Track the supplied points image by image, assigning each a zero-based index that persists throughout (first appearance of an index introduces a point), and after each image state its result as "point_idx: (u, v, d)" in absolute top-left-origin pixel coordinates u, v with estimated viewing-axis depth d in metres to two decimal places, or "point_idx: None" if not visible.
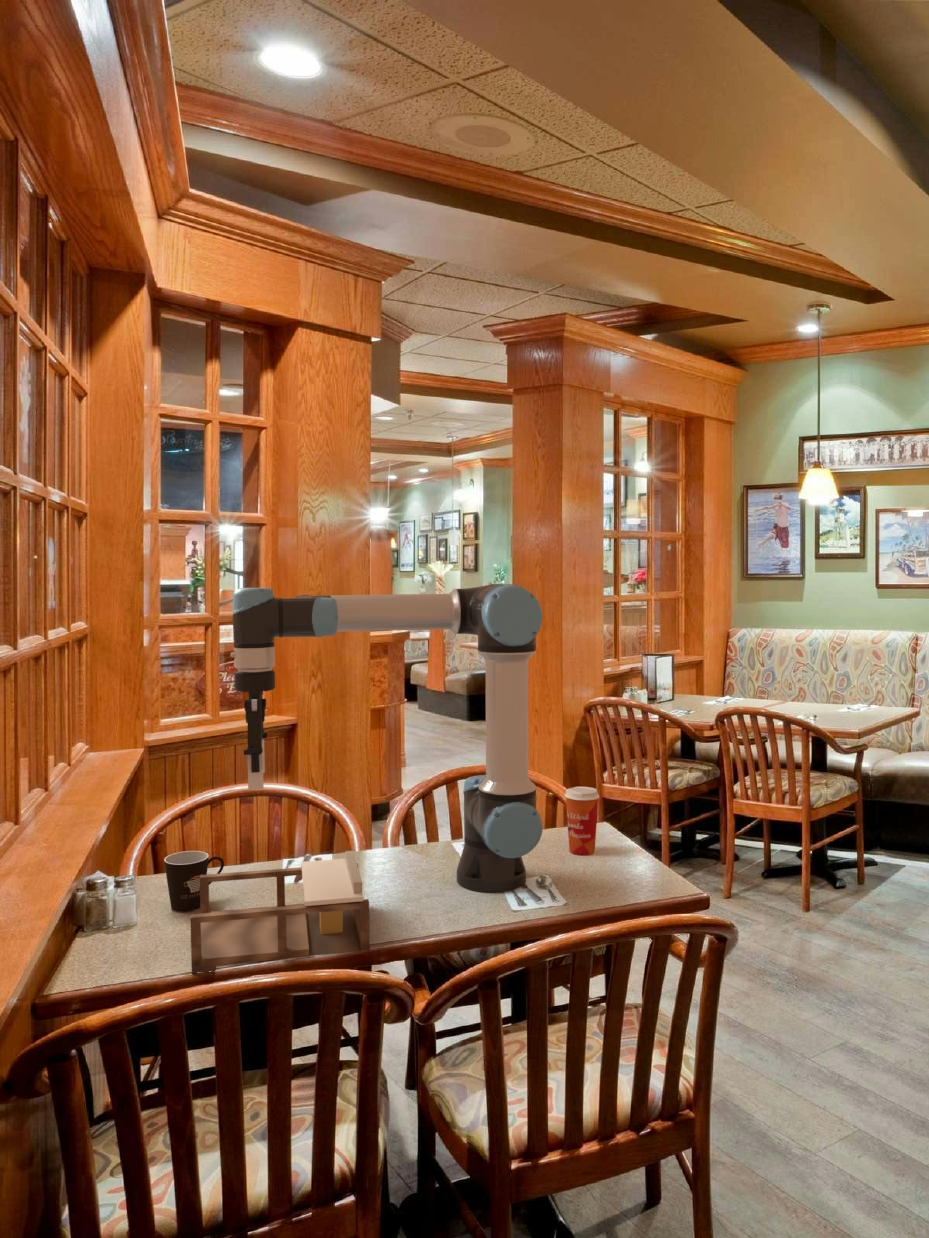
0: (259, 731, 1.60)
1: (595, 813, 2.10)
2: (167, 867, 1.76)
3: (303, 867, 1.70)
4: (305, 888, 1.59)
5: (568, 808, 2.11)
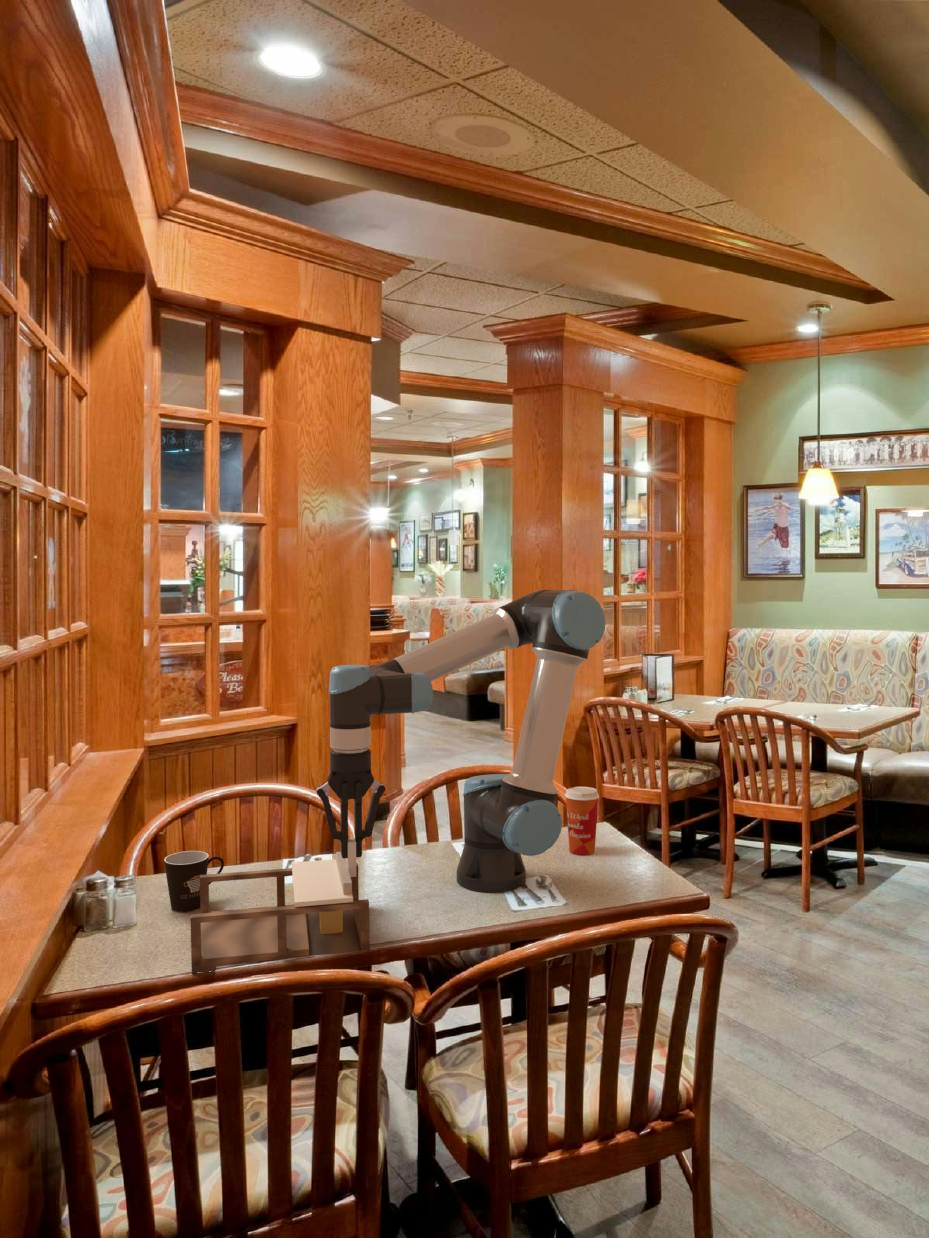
0: None
1: (595, 813, 2.10)
2: (167, 867, 1.76)
3: (293, 868, 1.70)
4: (295, 889, 1.59)
5: (568, 808, 2.11)
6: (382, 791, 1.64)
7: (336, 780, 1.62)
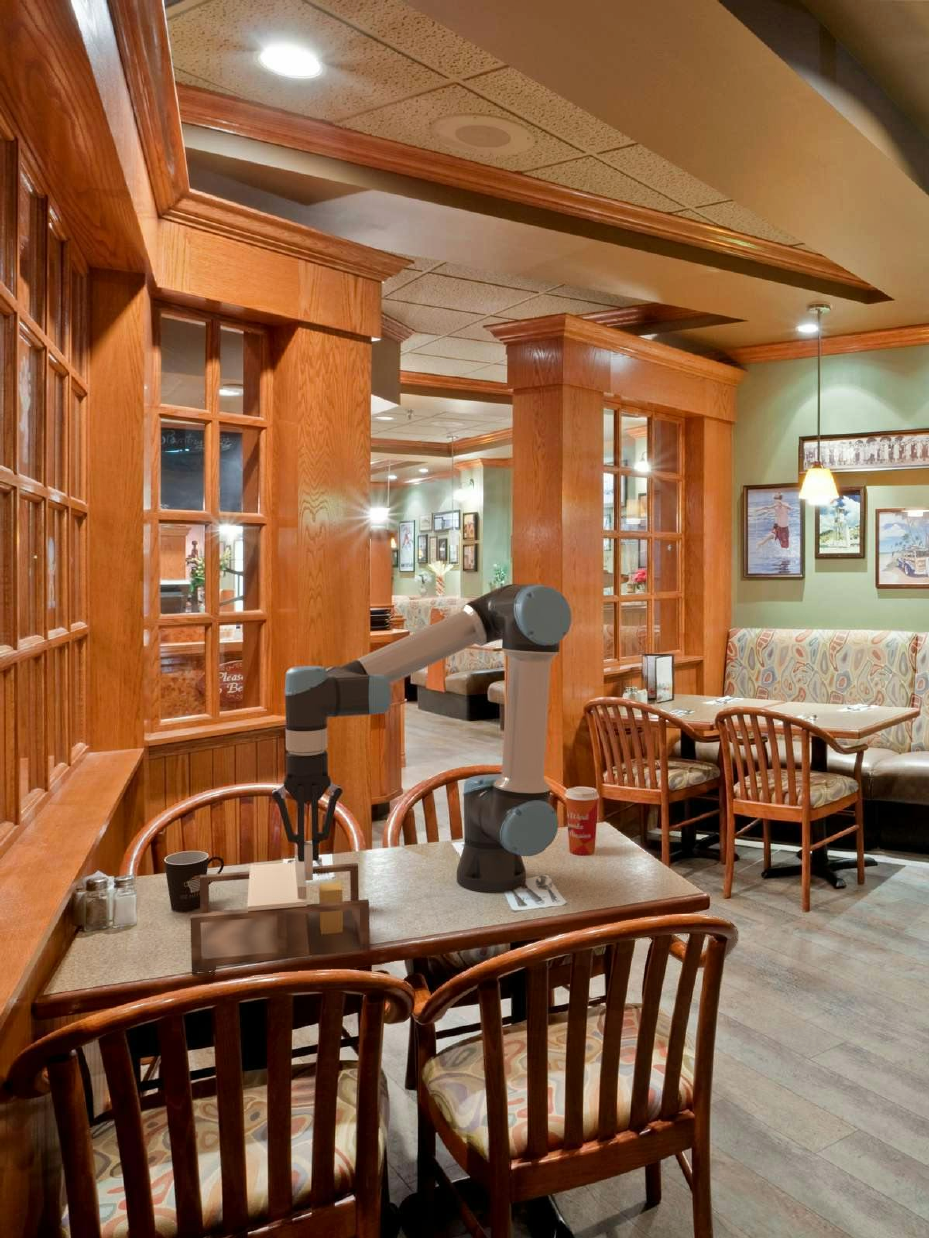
0: (283, 823, 1.61)
1: (595, 813, 2.10)
2: (167, 867, 1.76)
3: (251, 871, 1.68)
4: (249, 893, 1.57)
5: (568, 808, 2.11)
6: (339, 794, 1.62)
7: (292, 783, 1.61)
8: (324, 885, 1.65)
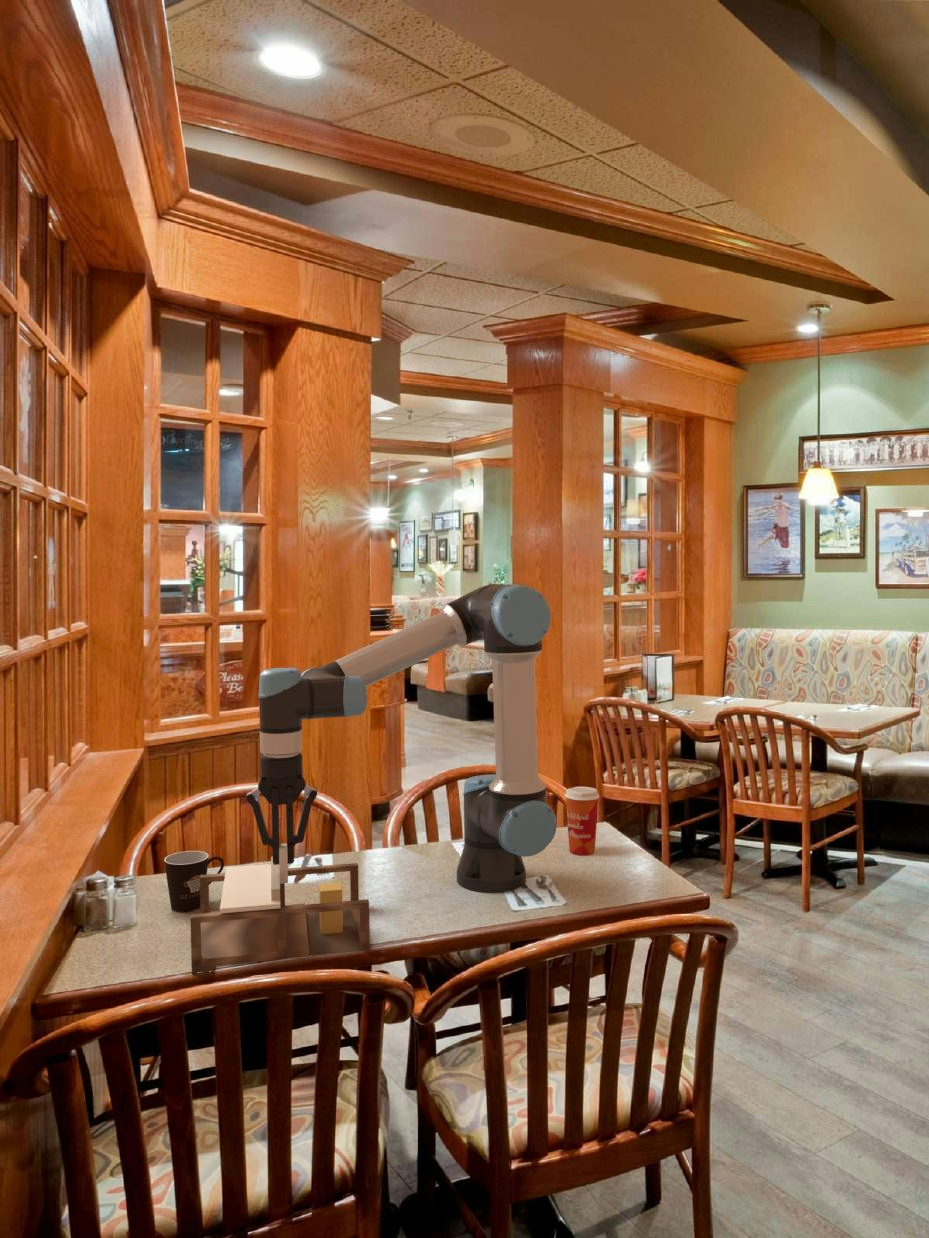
0: None
1: (595, 813, 2.10)
2: (167, 867, 1.76)
3: (227, 873, 1.67)
4: (223, 895, 1.56)
5: (568, 808, 2.11)
6: (314, 796, 1.62)
7: (266, 785, 1.60)
8: (324, 885, 1.65)
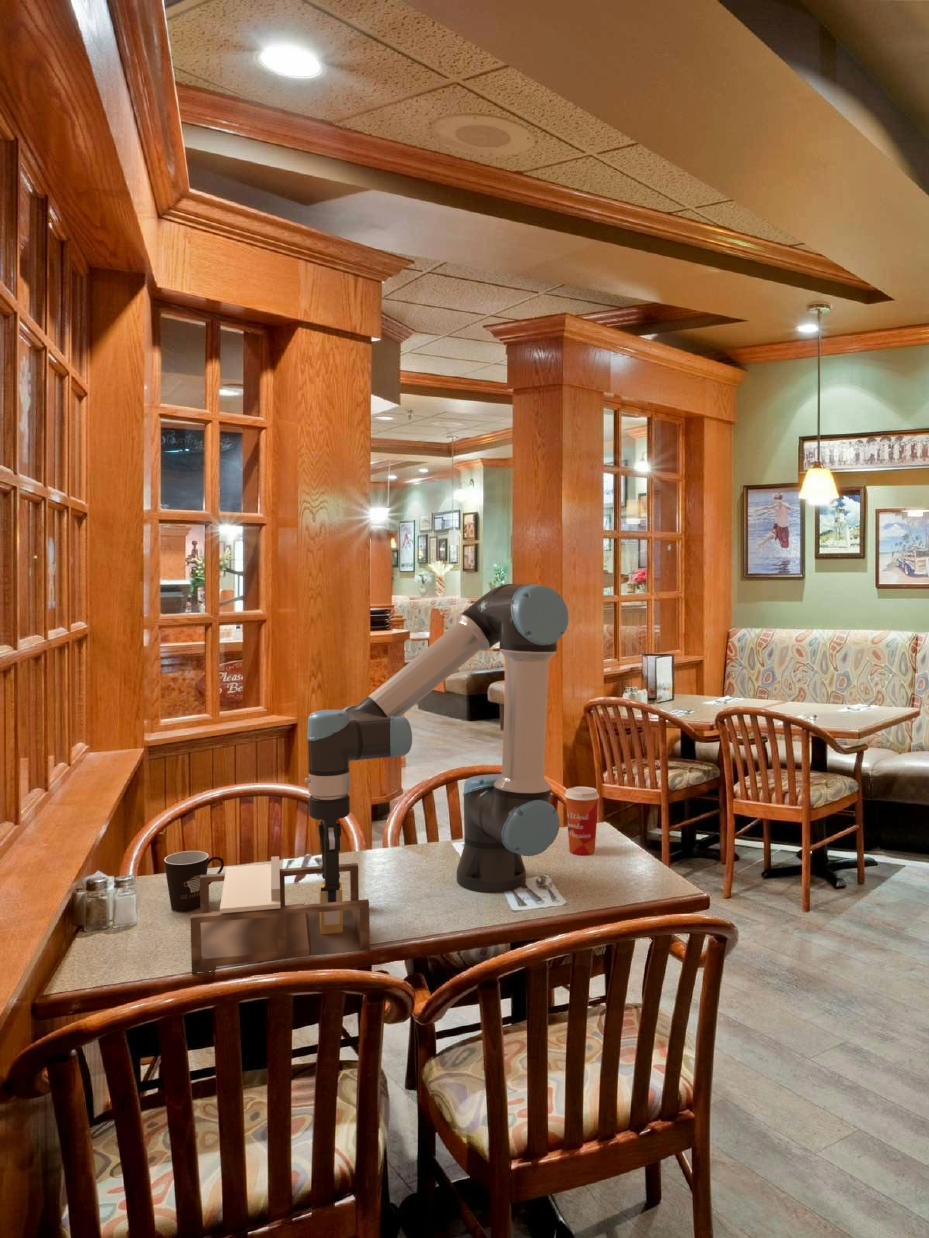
0: (337, 870, 1.59)
1: (595, 813, 2.10)
2: (167, 867, 1.76)
3: (227, 873, 1.67)
4: (223, 895, 1.56)
5: (568, 808, 2.11)
6: None
7: None
8: (324, 885, 1.65)
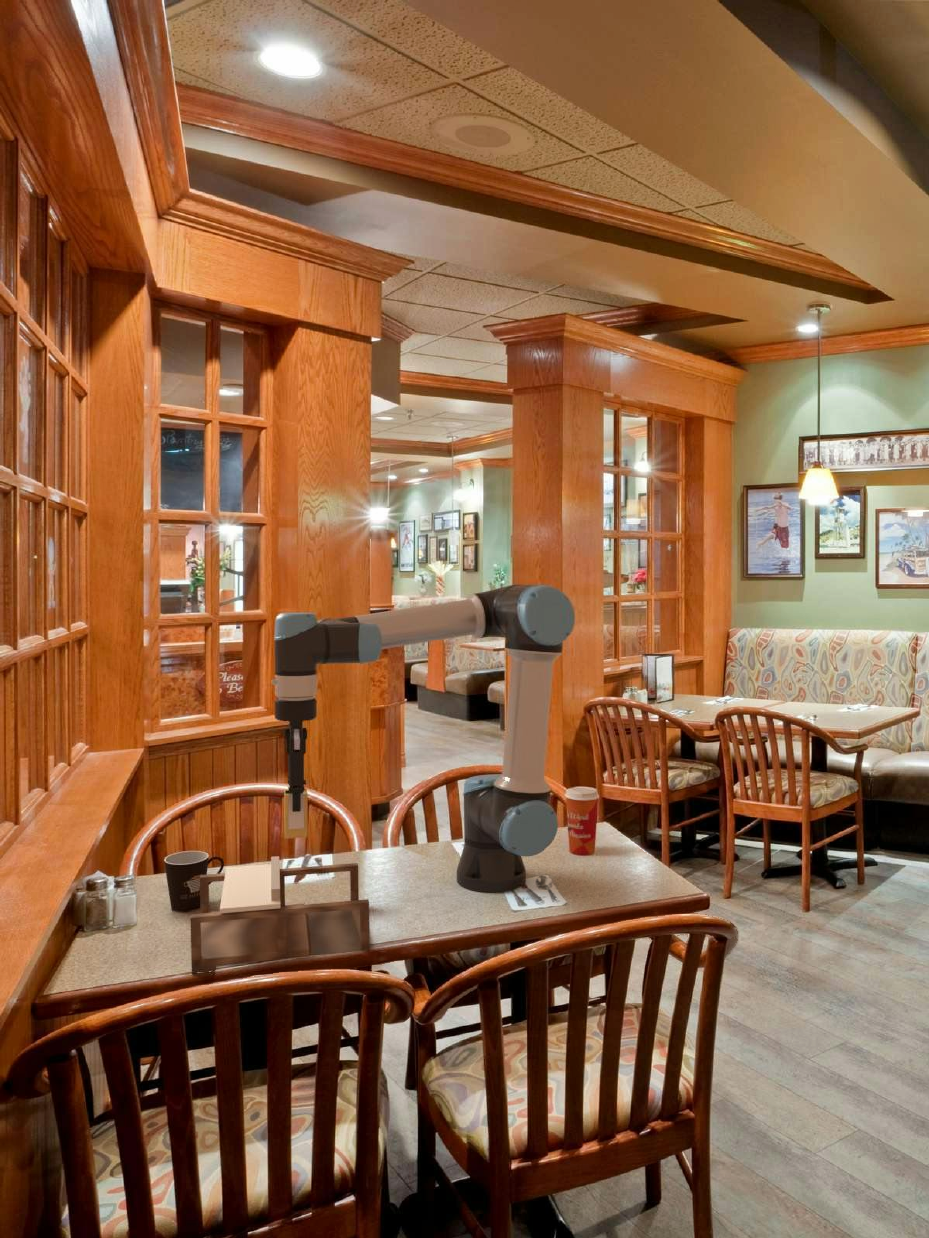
0: (301, 772, 1.56)
1: (595, 813, 2.10)
2: (167, 867, 1.76)
3: (227, 873, 1.67)
4: (223, 895, 1.56)
5: (568, 808, 2.11)
6: None
7: None
8: None
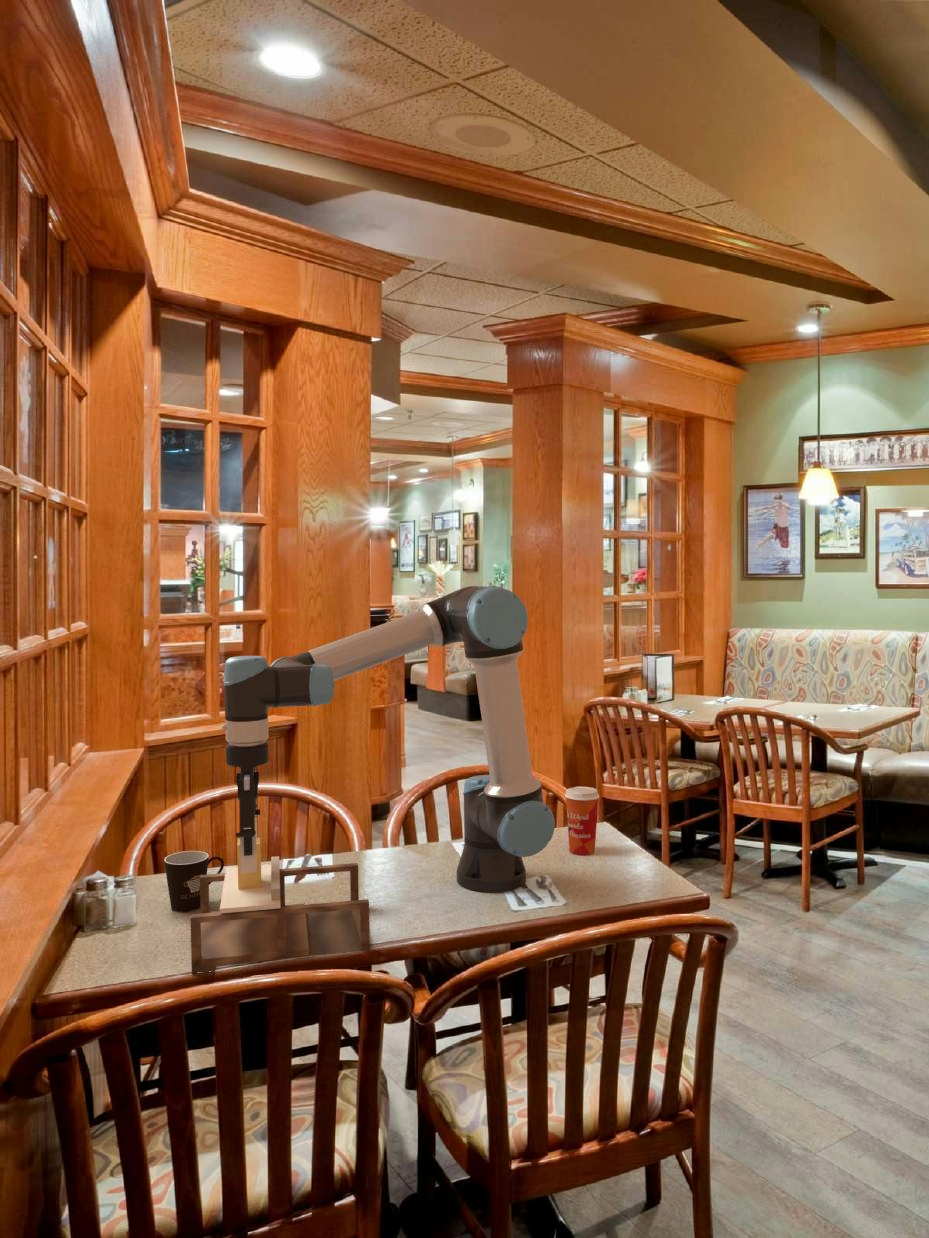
0: (252, 813, 1.53)
1: (595, 813, 2.10)
2: (167, 867, 1.76)
3: (227, 873, 1.67)
4: (223, 895, 1.56)
5: (568, 808, 2.11)
6: None
7: None
8: None
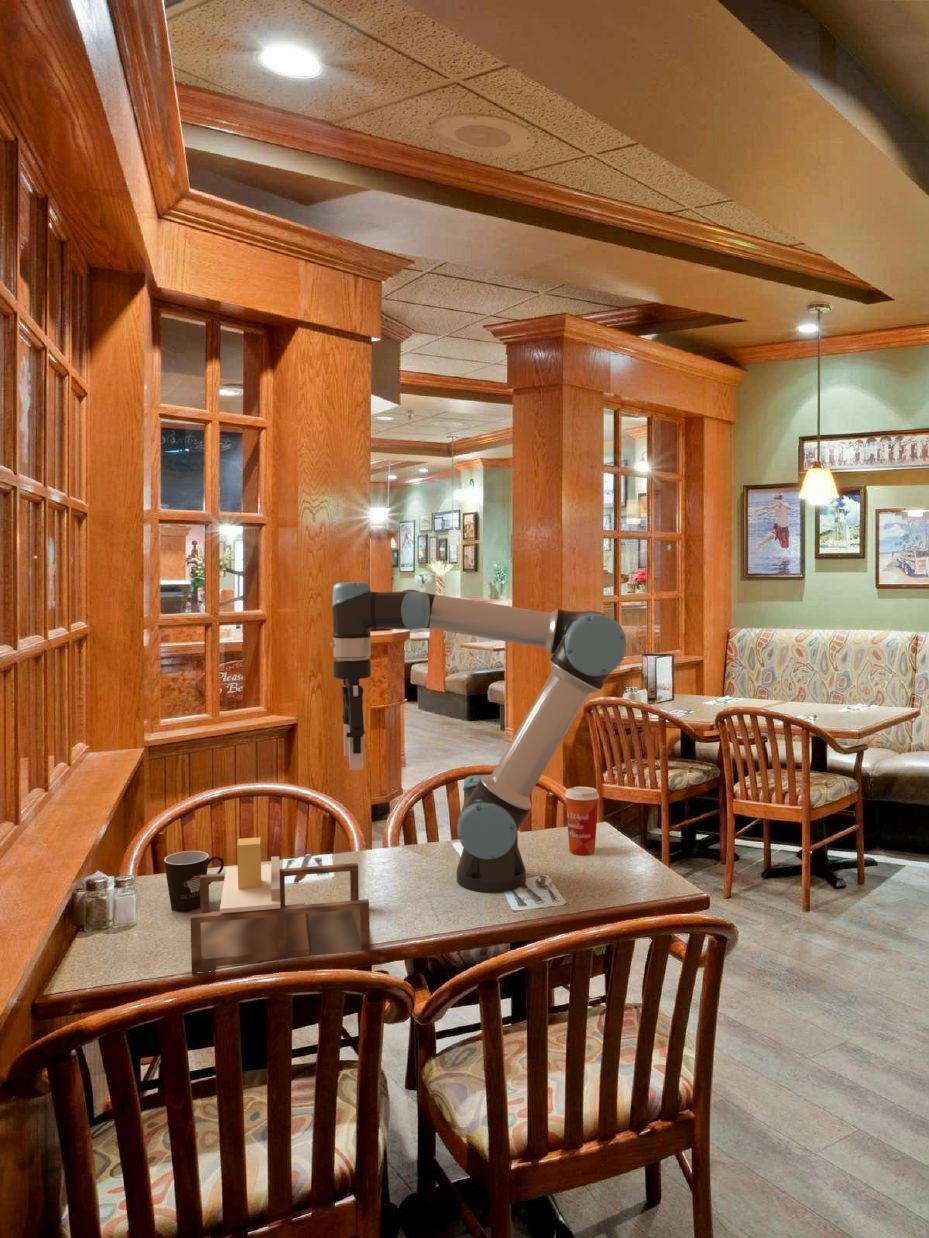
0: (361, 715, 1.72)
1: (595, 813, 2.10)
2: (167, 867, 1.76)
3: (227, 873, 1.67)
4: (223, 895, 1.56)
5: (568, 808, 2.11)
6: None
7: None
8: (243, 840, 1.61)
